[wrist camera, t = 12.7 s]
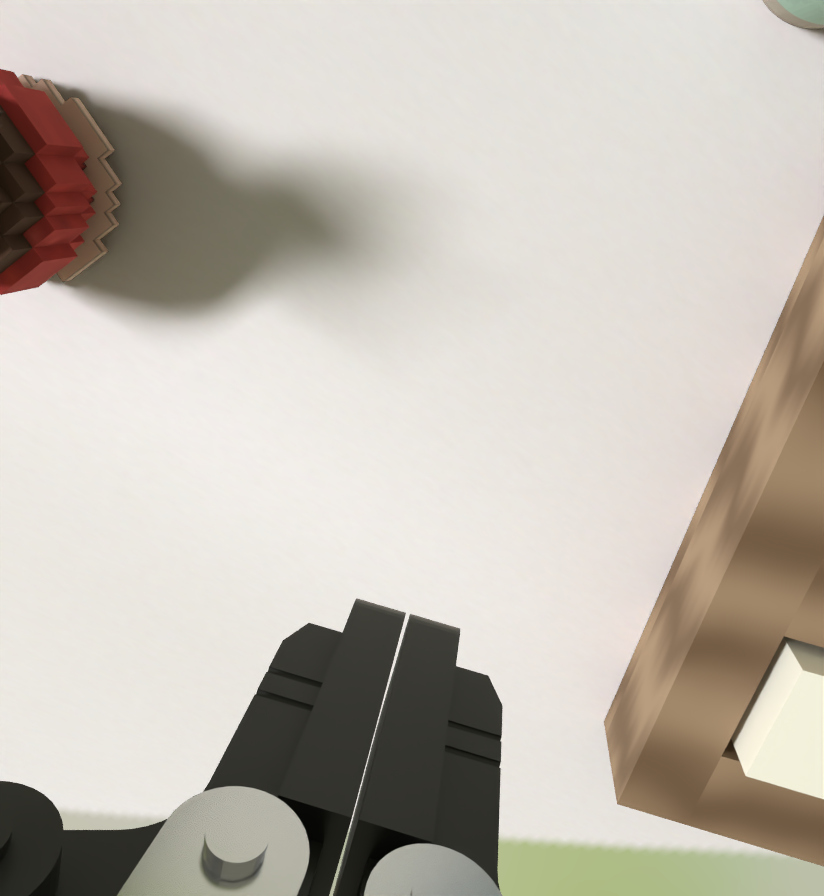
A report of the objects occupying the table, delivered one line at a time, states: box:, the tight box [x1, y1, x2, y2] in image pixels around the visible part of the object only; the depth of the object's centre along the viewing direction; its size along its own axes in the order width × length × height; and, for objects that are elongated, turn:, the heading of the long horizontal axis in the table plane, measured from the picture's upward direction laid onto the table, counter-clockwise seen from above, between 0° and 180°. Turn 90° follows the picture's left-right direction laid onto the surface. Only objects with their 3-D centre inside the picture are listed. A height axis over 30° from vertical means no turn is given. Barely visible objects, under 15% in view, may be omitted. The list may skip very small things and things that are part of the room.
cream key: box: [731, 636, 824, 799], centre depth 34 cm, size 6×6×4 cm
